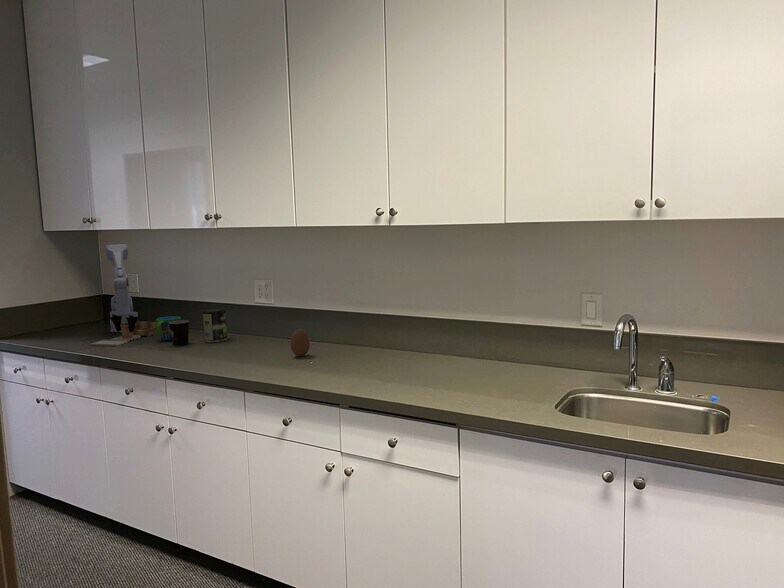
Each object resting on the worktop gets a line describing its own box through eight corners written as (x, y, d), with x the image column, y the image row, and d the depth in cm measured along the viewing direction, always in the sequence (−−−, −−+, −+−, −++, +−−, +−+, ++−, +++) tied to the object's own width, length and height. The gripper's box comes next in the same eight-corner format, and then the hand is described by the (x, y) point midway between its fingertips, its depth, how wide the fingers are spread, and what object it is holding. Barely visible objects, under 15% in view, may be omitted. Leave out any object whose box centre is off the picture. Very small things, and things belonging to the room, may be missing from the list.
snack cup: (173, 335, 294) (171, 314, 293) (190, 336, 290) (189, 315, 288) (148, 342, 280) (146, 320, 278) (166, 343, 276) (164, 321, 274)
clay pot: (118, 337, 287) (117, 324, 286) (127, 335, 293) (126, 322, 292) (128, 338, 285) (127, 325, 285) (136, 335, 291) (135, 322, 290)
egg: (314, 354, 245) (312, 328, 243) (303, 359, 238) (301, 331, 236) (298, 353, 248) (296, 326, 247) (287, 357, 241) (285, 330, 240)
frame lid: (88, 345, 276) (88, 343, 276) (102, 341, 285) (102, 339, 285) (115, 346, 272) (115, 344, 272) (128, 342, 281) (128, 340, 281)
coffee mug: (170, 343, 276) (169, 321, 275) (190, 341, 279) (189, 319, 277) (169, 348, 265) (167, 325, 264) (190, 346, 268) (188, 324, 266)
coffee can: (230, 337, 285) (228, 307, 283) (223, 342, 275) (221, 311, 273) (208, 338, 285) (206, 308, 283) (201, 342, 275) (198, 311, 273)
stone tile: (111, 340, 286) (111, 338, 286) (125, 336, 294) (125, 334, 294) (126, 341, 283) (126, 339, 283) (140, 337, 291) (140, 335, 291)
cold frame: (121, 335, 297) (120, 325, 297) (137, 331, 308) (136, 321, 307) (147, 337, 292) (146, 326, 291) (163, 332, 302) (162, 322, 302)
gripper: (103, 303, 285) (106, 332, 287) (128, 304, 280) (131, 333, 282) (115, 301, 291) (118, 329, 293) (140, 302, 286) (142, 330, 288)
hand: (125, 331), depth 288 cm, fingers open, 7 cm apart
